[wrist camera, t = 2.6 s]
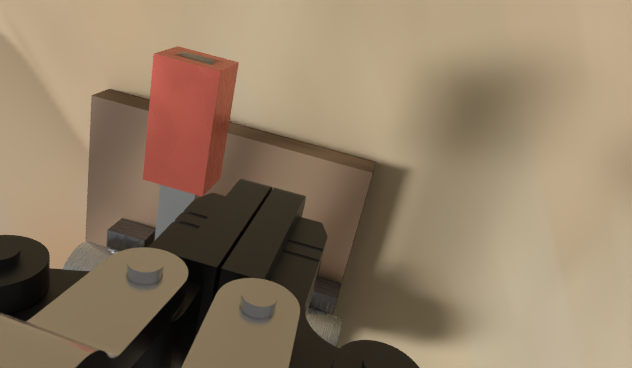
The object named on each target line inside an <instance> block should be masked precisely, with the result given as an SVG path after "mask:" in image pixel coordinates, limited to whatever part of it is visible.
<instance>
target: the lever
mask: <svg viewBox="0 0 632 368" xmlns="http://www.w3.org/2000/svg"><path fill="white" fill-rule="evenodd" d="M238 63H239V62H235V61H231V60H227V59H224V58H220V57H216V56H212V55H208V54H205V53H201V52H197V51H193V50H189V49H186V48H182V47H174V48H171V49H168V50H165V51H161V52H158V53H155V54H154V58H153V70H152V81H151V92H150V103H149V114H148V125H147V137H146V148H145V159H144V170H143V180H146V181H150V182H153V183H157V184H160V192H159V202H158V211H157V221H156V230H155V240H156V239H157V238H158V237H159V236H160V234H161V233H162V232H163V231H164V230H165V229H166V228H167V227H168V226H169V225H170V224H171V223H172V222H175V219H176V218H177V217H178V216H179V215H180V214H181V213H183V212H184V210H185V209H186V208H187V207H188V206H189V205H190V203H191V202H192V201H193V200H194V199H197V198H199V197H202V196H204V195H205V194H206V193H207V191H208V190H209V189H210V188H211V187H212V186H213V185H214V184H215V183H216V182H217V181H218V180H219V179H220V178H221V171H222V165H223V159H224V152H225V146H226V140H227V133H228V127H229V120H230V114H231V108H232V101H233V95H234V88H235V82H236V76H237V69H238ZM155 240H154V241H155Z"/></svg>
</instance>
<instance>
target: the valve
mask: <svg viewBox="0 0 632 368" xmlns="http://www.w3.org/2000/svg"><path fill="white" fill-rule="evenodd" d="M155 230H156V228H155V227H151V226H148V225H144V224H141V223H138V222H134V221H131V220H128V219H124V218H121V219H120V220H119V221H118V222H116V223H115V224H114V225H113V226H111V227H110V228H109V229H108V230H107V245H106V246H103V245H100V244H96V243H93V242H89V241H88V242H84V243H82V244H81V245H79V246H78V247H77V248H76V249H75V250H74V251H73V252H72V254H71V255H70V256H69V258H68V260H67V261H66V263H65V265H64V267H63V269H64V270H78V271H91V270H93V269H94V268H95V267H97V266H98V265H99V264H100V263H102V262H103V261H104V260H105V259H107V258H108V257H109V256H111V255H112V254H115V253H117V252H119V251H122V250H126V249H131V248H142V247H147V248H148V247H149V246H150V245H151V244H152V243H153V242H154V240H155ZM340 286H341V283H340V282H337V281H333V280H330V279H327V278H323V277H320V276H317V280H316V284H315V288H314V292H313V295H312V298H311V301H310V305H309V308H308V311H307V314H306V319H307V321H308V323H309V325H310V326H311V327H312V329H313V330H314V331H315V332H316V333H317V334H318V335H319V336H320V337H322V338H323V339H324V340H326V341H327V342H329V343H330V344H332V345H334V346H337V342H338V338H339V334H340V330H341V326H342V322H343V318H341V317H338V316H335V315H333V312H334V308H335V305H336V302H337V298H338V294H339V290H340Z"/></svg>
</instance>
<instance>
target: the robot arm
mask: <svg viewBox="0 0 632 368" xmlns="http://www.w3.org/2000/svg"><path fill="white" fill-rule="evenodd" d="M305 200H306V196H304V195H301V194H297V193H293V192H290V191H286V190H282V189H279V188H275V187H274V188H273V187H271V186H267V185H264V184H260V183H256V182H253V181H249V180H245V179H242V178H241V179H240V180H239V181H238V182H237V183H236V184H235V185H234V187H233V188H232V189H231V190H230V191H229V193H228V194H227V195H226V196H223V195H220V194H216V193H213V192H212V193H210V194H207V195H205V196H202V197H199V198H197V199H194V200H193V201H192V202H191V203H190V205H189V206H188V207H187V208H186V209H185V210H184V212H183V213H181V214H180V215H179V216H178V217H177V218H176V219H175V222H172V223H171V224H170V225H169V226H168V227H167V228H166V229H165V230H164V231H163V232H162V233H161V234H160V236H159V237H158V238H157V239H156V240H155V241H154V242H153V243H152V244H151V245H150V246H149V247H148V248H147V247H142V248H131V249H126V250H122V251H119V252H117V253H115V254H112V255H111V256H109V257H108V258H107V259H105V260H104V261H103V262H102V263H100V264H99V265H98V266H97V267H95V268H94V269H93V270H91V271H78V270H64V269H50V268H49V252H48V250H47V248H46V247H45V246H44V245H43V244H41V243H40V242H38V241H36V240H33V239H30V238H27V237H22V236H15V235H0V368H419V367H418V365H417V364H416V363H415V362H414V361H413V360H412V359H411V358H410V357H409V356H407V355H406V354H405V353H403V352H402V351H400V350H399V349H397V348H395V347H393V346H390V345H388V344H385V343H382V342H378V341H372V340H358V341H353V342H350V343H348V344H346V345H344V346H343V347H341V348H340V349H339V348H337V347H336V346H334V345H332V344H330V343H329V342H327V341H326V340H324V339H323V338H322V337H320V336H319V335H318V334H317V333H316V332H315V331H314V330H313V329H312V327H311V326H310V325H309V323H308V321H307V319H306V314H307V311H308V308H309V305H310V301H311V298H312V295H313V292H314V288H315V284H316V280H317V276H318V272H319V269H320V265H321V261H322V257H323V253H324V249H325V245H326V241H327V237H328V236H327V233H326V231H325V228H324V226H323V223H321V222H318V221H314V220H310V219H307V218H303V217H302V215H303V210H304V206H305Z"/></svg>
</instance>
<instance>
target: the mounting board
mask: <svg viewBox="0 0 632 368" xmlns="http://www.w3.org/2000/svg"><path fill="white" fill-rule="evenodd" d="M149 103H150V100H147V99H143V98H139V97H136V96H132V95H128V94H125V93H121V92H117V91H114V90H110V89H108V90H105V91H102V92H100V93H97V94H94V95H92V102H91V125H90V149H89V173H88V196H87V220H86V242H88V241H89V242H93V243H96V244H100V245H103V246H106V245H107V230H108V229H109V228H110V227H111V226H113V225H114V224H115V223H116V222H118V221H119V220H120V219H121V218H124V219H128V220H131V221H134V222H138V223H141V224H144V225H148V226H151V227H155V228H156V221H157V211H158V202H159V192H160V184H157V183H153V182H150V181H146V180H143V170H144V159H145V148H146V137H147V125H148V114H149ZM375 163H376V162H373V161H369V160H365V159H362V158H358V157H354V156H351V155H347V154H343V153H340V152H336V151H333V150H329V149H325V148H322V147H318V146H314V145H311V144H307V143H303V142H300V141H296V140H292V139H289V138H285V137H281V136H278V135H274V134H271V133H267V132H263V131H260V130H256V129H252V128H249V127H245V126H241V125H238V124H234V123H230V122H229V127H228V133H227V140H226V146H225V152H224V159H223V165H222V171H221V178H220V179H219V180H218V181H217V182H216V183H215V184H214V185H213V186H212V187H211V188H210V189H209V190H208V191H207V193H206V194H205V195H207V194H210V193H212V192H213V193H216V194H220V195H223V196H226V195H227V194H228V193H229V191H230V190H231V189H232V188H233V187H234V185H235V184H236V183H237V182H238V181H239V180H240V179H241V178H242V179H245V180H249V181H253V182H256V183H260V184H264V185H267V186H271V187H273V188H274V187H275V188H279V189H282V190H286V191H290V192H293V193H297V194H301V195H304V196H306V200H305V206H304V210H303V215H302V217H303V218H307V219H310V220H314V221H318V222H321V223H323V226H324V228H325V231H326V233H327V236H328V237H327V241H326V245H325V249H324V253H323V257H322V261H321V265H320V269H319V272H318V276H320V277H323V278H327V279H330V280H333V281H337V282H340V283H342V279H343V276H344V272H345V269H346V265H347V262H348V258H349V255H350V251H351V248H352V244H353V241H354V237H355V234H356V230H357V227H358V223H359V220H360V216H361V213H362V209H363V206H364V202H365V199H366V195H367V192H368V188H369V185H370V182H371V178H372V175H373V171H374V167H375ZM205 195H204V196H205Z"/></svg>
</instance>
